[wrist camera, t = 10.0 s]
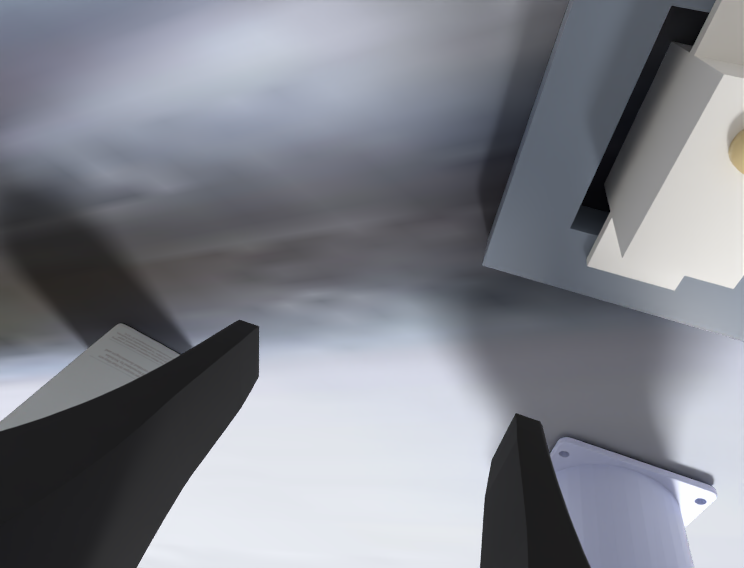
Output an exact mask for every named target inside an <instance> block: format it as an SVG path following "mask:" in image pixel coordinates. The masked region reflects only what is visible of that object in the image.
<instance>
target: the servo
mask: <svg viewBox="0 0 744 568" xmlns="http://www.w3.org/2000/svg"><path fill="white" fill-rule="evenodd" d="M604 187H605V191H606V195H607V199H608V203H609V207H610V213H609V215H608V217H607V219H606V221H605V223H604V225H603V227H602V229H601V231H600V233H599V235H598V237H597V239H596V241H595V243H594V245H593V247H592V249H591V251H590V253H589V255H588V257H587V259H586V260H587V266H588V267H592V268H596V269H599V270H603V271H606V272H610V273H613V274H617V275H621V276H624V277H628V278H631V279H635V280H638V281H642V282H646V283H649V284H653V285H656V286H660V287H663V288H667V289H671V290H674V291H675V289H676V288H677V286H678V285H679V283H680V282H681V280H682V279H683V277H684V276H688V277H691V278H695V279H699V280H702V281H706V282H710V283H713V284H717V285H721V286H724V287H728V288H732V289H734V288H735V286H736V285H737V284H738V282H739V281H740V280H741V279H742V277H743V276H744V0H716V1H715V3H714V5H713V7H712V9H711V11H710V13H709V15H708V17H707V19H706V21H705V23H704V25H703V27H702V29H701V31H700V33H699V35H698V37H697V39H696V41H695V43H694V45H693V46H692V45H687V44H682V43H677V42H671V44H670V46H669V48H668V50H667V52H666V55H665V57H664V59H663V61H662V63H661V65H660V67H659V69H658V71H657V74H656V76H655V78H654V80H653V82H652V84H651V86H650V88H649V90H648V93H647V95H646V97H645V99H644V101H643V103H642V105H641V107H640V109H639V112H638V114H637V116H636V118H635V120H634V122H633V124H632V126H631V128H630V131H629V133H628V135H627V137H626V139H625V141H624V143H623V145H622V147H621V150H620V152H619V154H618V156H617V158H616V160H615V162H614V164H613V166H612V169H611V171H610V173H609V175H608V177H607V179H606V181H605V183H604Z"/></svg>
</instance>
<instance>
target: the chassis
mask: <svg viewBox="0 0 744 568" xmlns="http://www.w3.org/2000/svg"><path fill="white" fill-rule="evenodd" d="M715 1H716V0H569V3H568V6H567V9H566V12H565V15H564V18H563V21H562V24H561V27H560V30H559V32H558V35H557V38H556V41H555V44H554V47H553V50H552V53H551V56H550V59H549V62H548V65H547V68H546V71H545V73H544V76H543V79H542V82H541V85H540V88H539V91H538V94H537V97H536V100H535V103H534V106H533V109H532V111H531V114H530V117H529V120H528V123H527V126H526V129H525V132H524V135H523V138H522V141H521V144H520V147H519V150H518V152H517V155H516V158H515V161H514V164H513V167H512V170H511V173H510V176H509V179H508V182H507V185H506V188H505V190H504V193H503V196H502V199H501V202H500V205H499V208H498V211H497V214H496V217H495V220H494V223H493V226H492V229H491V231H490V234H489V237H488V241H487V246H486V250H485V254H484V259H483V263H482V266H486V267H489V268H493V269H496V270H499V271H503V272H506V273H510V274H513V275H517V276H520V277H523V278H527V279H530V280H534V281H537V282H541V283H544V284H547V285H551V286H554V287H558V288H561V289H565V290H568V291H571V292H575V293H578V294H582V295H585V296H589V297H592V298H596V299H599V300H602V301H606V302H609V303H613V304H616V305H620V306H623V307H626V308H630V309H633V310H637V311H640V312H644V313H647V314H650V315H654V316H657V317H661V318H664V319H668V320H671V321H674V322H678V323H681V324H685V325H688V326H692V327H695V328H698V329H702V330H705V331H709V332H712V333H716V334H719V335H723V336H726V337H729V338H733V339H736V340H740V341H743V342H744V276H743V277H742V279H741V280H740V281H739V282H738V284H737V285H736V286H735V288H734V289H732V288H728V287H724V286H721V285H717V284H713V283H710V282H706V281H702V280H699V279H695V278H691V277H688V276H684V277H683V279H682V280H681V282H680V283H679V285H678V286H677V288H676V289H675V291H674V290H671V289H667V288H663V287H660V286H656V285H653V284H649V283H646V282H642V281H638V280H635V279H631V278H628V277H624V276H621V275H617V274H613V273H610V272H606V271H603V270H599V269H596V268H592V267H588V266H587V260H586V259H587V257H588V255H589V253H590V251H591V249H592V247H593V245H594V243H595V241H596V239H597V237H598V235H599V233H600V231H601V229H602V227H603V225H604V223H605V221H606V219H607V217H608V215H609V212H605V211H601V210H597V209H593V208H589V207H586V206H582V205H581V203H582V201H583V199H584V197H585V194H586V192H587V190H588V188H589V186H590V183H591V181H592V179H593V177H594V175H595V172H596V170H597V168H598V166H599V164H600V161H601V159H602V157H603V155H604V153H605V151H606V148H607V146H608V144H609V142H610V140H611V137H612V135H613V133H614V131H615V129H616V126H617V124H618V122H619V120H620V118H621V115H622V113H623V111H624V109H625V107H626V104H627V102H628V100H629V98H630V96H631V93H632V91H633V89H634V87H635V85H636V83H637V80H638V78H639V76H640V74H641V72H642V69H643V67H644V65H645V63H646V61H647V58H648V56H649V54H650V52H651V50H652V47H653V45H654V43H655V41H656V39H657V36H658V34H659V32H660V30H661V28H662V25H663V23H664V21H665V19H666V17H667V14H668V12H669V10H670V8H671V6H677V7H682V8H687V9H692V10H698V11H703V12H708V13H710V11H711V9H712V7H713V5H714V3H715Z"/></svg>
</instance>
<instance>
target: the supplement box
mask: <svg viewBox="0 0 744 568" xmlns="http://www.w3.org/2000/svg"><path fill="white" fill-rule="evenodd" d="M178 356H180V354H178V353H176V352H175V351H173V350H171V349H169V348H167V347H165V346H164V345H162V344H160V343H158V342H156V341H155V340H153V339H151V338H149V337H147V336H145V335H143V334H142V333H140V332H138V331H136V330H135V329H133V328H131V327H129V326H127V325H125V324H122V323H119V324H117V325H116V326H114V327H113V328H112V329H111V330H110V331H108V332H107V333H106V334H105V335H104V336H102V337H101V338H100V339H99V340H97V341H96V342H95V343H94V344H93V345H91V346H90V347H89V348H88V349H87V350H86V351H84V352H83V353H82V354H81V355H80V356H78V357H77V358H76V359H75V360H74V361H72V362H71V363H70V364H69V365H68V366H66V367H65V368H64V369H63V370H62V371H60V372H59V373H58V374H57V375H56V376H54V377H53V378H52V379H51V380H50V381H48V382H47V383H46V384H45V385H44V386H42V387H41V388H40V389H39V390H38V391H36V392H35V393H34V394H33V395H32V396H31V397H29V398H28V399H27V400H26V401H25V402H24V403H22V404H21V405H20V406H19V407H17V408H16V409H15V410H14V411H13V412H11V413H10V414H9V415H8V416H7V417H5V418H4V419H3V420H2V421H1V422H0V431H3V430H6V429H9V428H13V427H16V426H19V425H22V424H26V423H29V422H32V421H35V420H38V419H41V418H44V417H47V416H49V415H52V414H55V413H57V412H60V411H63V410H66V409H68V408H71V407H74V406H76V405H79V404H81V403H84V402H87V401H89V400H92V399H94V398H96V397H99V396H101V395H103V394H105V393H108V392H110V391H112V390H114V389H117V388H119V387H121V386H123V385H125V384H127V383H129V382H131V381H133V380H135V379H137V378H139V377H141V376H143V375H145V374H147V373H149V372H151V371H152V370H154V369H156V368H158V367H160V366H162V365H164V364H166V363H167V362H169V361H171V360H173V359H174V358H176V357H178Z"/></svg>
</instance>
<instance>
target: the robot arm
mask: <svg viewBox="0 0 744 568" xmlns="http://www.w3.org/2000/svg"><path fill="white" fill-rule="evenodd" d="M258 377H259V326H256V325H254V324H251V323H248V322H245V321H242V320H238V321H236V322H234V323H233V324H231V325H229V326H228V327H226V328H224V329H223V330H221V331H220V332H218V333H216V334H215V335H213V336H211V337H210V338H208V339H207V340H205V341H203V342H202V343H200V344H198V345H197V346H195V347H193V348H192V349H190V350H188V351H186V352H185V353H183V354H181V355H180V356H178V357H176V358H174V359H173V360H171V361H169V362H167V363H166V364H164V365H162V366H160V367H158V368H156V369H154V370H152V371H151V372H149V373H147V374H145V375H143V376H141V377H139V378H137V379H135V380H133V381H131V382H129V383H127V384H125V385H123V386H121V387H119V388H117V389H114V390H112V391H110V392H108V393H105V394H103V395H101V396H99V397H96V398H94V399H92V400H89V401H87V402H84V403H81V404H79V405H76V406H74V407H71V408H68V409H66V410H63V411H60V412H57V413H55V414H52V415H49V416H47V417H44V418H41V419H38V420H35V421H32V422H29V423H26V424H22V425H19V426H16V427H13V428H9V429H6V430H3V431H0V568H137V566H138V564H139V562H140V561H141V559H142V557H143V555H144V553H145V552H146V550H147V548H148V546H149V545H150V543H151V541H152V539H153V538H154V536H155V534H156V532H157V531H158V529H159V527H160V526H161V524H162V522H163V520H164V519H165V517H166V515H167V514H168V512H169V510H170V509H171V507H172V505H173V504H174V502H175V500H176V499H177V497H178V495H179V494H180V492H181V490H182V489H183V487H184V486H185V484H186V483H187V481H188V480H189V478H190V477H191V475H192V474H193V472H194V471H195V470H196V468H197V467H198V466H199V464H200V463H201V462H202V460H203V459H204V458H205V456H206V455H207V454H208V452H209V451H210V450H211V448H212V447H213V445H214V444H215V443H216V441H217V440H218V439H219V437H220V436H221V435H222V433H223V432H224V431H225V429H226V428H227V427H228V425H229V424H230V422H231V421H232V420H233V418H234V417H235V416H236V414H237V413H238V411H239V410H240V409H241V407H242V405H243V404H244V402H245V400H246V399H247V397H248V395H249V393H250V392H251V390H252V388H253V386H254V384H255V382H256V381H257V379H258ZM564 451H565V452H564ZM716 498H717V493H716V489H715V488H714V487H712V486H710V485H708V484H705V483H702V482H699V481H696V480H693V479H690V478H687V477H684V476H681V475H679V474H676V473H673V472H670V471H667V470H664V469H661V468H658V467H655V466H652V465H649V464H646V463H643V462H640V461H637V460H634V459H632V458H629V457H626V456H623V455H620V454H617V453H614V452H611V451H608V450H605V449H602V448H599V447H596V446H593V445H590V444H587V443H585V442H582V441H579V440H576V439H573V438H569V437H563V438H560V439H559V440H558V442H557V443H556V445H555V446H554V448H553V449H552V451H551V453H549V450H548V446H547V442H546V438H545V434H544V430H543V426H542V424H541V422H540V421H537V420H534V419H531V418H528V417H525V416H522V415H519V414H515V416H514V418H513V420H512V422H511V424H510V425H509V427H508V429H507V431H506V433H505V435H504V437H503V439H502V441H501V443H500V445H499V447H498V449H497V451H496V453H495V455H494V457H493V458H492V462H491V467H490V472H489V477H488V483H487V489H486V494H485V503H484V517H483V532H482V548H481V563H480V568H694V564H693V560H692V556H691V552H690V548H689V543H688V539H687V535H686V531H685V527H686V526H687V525H688V524H689V523H690V522H691V521H693V520H694V519H695V518H696V517H697V516H698V515H699V514H700V513H701V512H702V511H704V510H705V509H706V508H707V507H708V506H709V505H710V504H711V503H712V502H713V501H715V500H716Z"/></svg>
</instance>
